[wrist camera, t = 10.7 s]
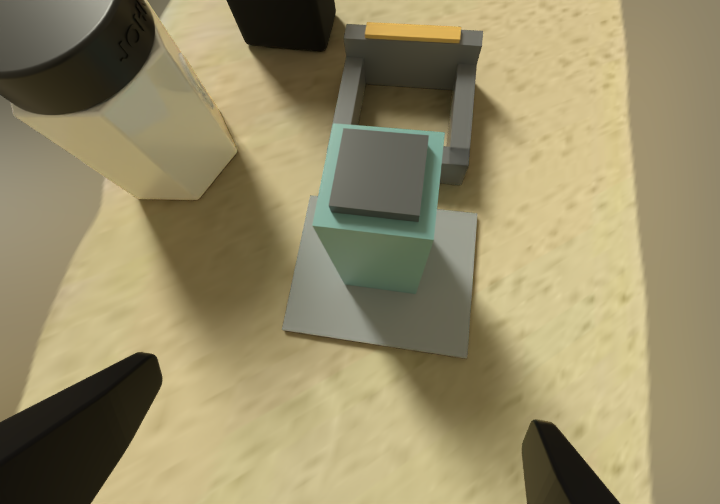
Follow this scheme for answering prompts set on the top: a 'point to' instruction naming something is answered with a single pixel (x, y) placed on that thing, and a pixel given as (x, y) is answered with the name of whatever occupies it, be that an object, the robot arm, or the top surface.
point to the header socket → (415, 76)
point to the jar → (113, 94)
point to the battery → (285, 22)
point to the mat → (389, 294)
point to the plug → (379, 204)
